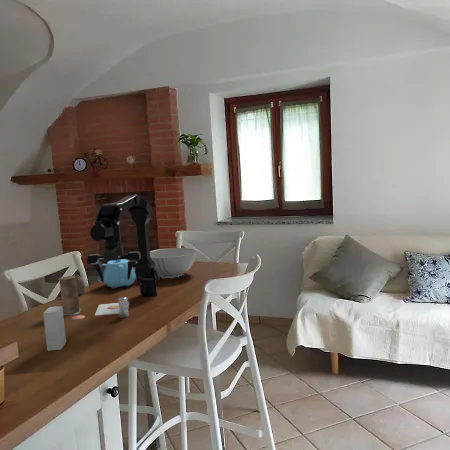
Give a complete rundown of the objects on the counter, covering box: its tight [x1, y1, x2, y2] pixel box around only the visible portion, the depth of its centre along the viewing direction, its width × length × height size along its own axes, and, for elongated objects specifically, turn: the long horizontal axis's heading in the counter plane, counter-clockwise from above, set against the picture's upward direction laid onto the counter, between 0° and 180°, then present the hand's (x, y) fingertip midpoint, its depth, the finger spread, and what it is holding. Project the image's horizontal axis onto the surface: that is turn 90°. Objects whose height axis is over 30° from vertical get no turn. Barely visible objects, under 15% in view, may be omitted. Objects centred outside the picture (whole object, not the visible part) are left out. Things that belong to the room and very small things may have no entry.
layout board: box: [63, 301, 131, 321], centre depth 172 cm, size 26×16×1 cm, turn 99°
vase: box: [72, 274, 86, 296], centre depth 199 cm, size 7×7×9 cm
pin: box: [118, 296, 130, 319], centre depth 163 cm, size 3×3×7 cm
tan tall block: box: [58, 275, 81, 316], centre depth 172 cm, size 5×5×14 cm
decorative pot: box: [97, 257, 138, 290], centre depth 211 cm, size 16×16×14 cm
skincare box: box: [42, 305, 67, 352], centre depth 137 cm, size 6×4×12 cm
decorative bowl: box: [150, 247, 198, 279], centre depth 226 cm, size 27×27×12 cm
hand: (115, 280), depth 163 cm, fingers open, 9 cm apart
